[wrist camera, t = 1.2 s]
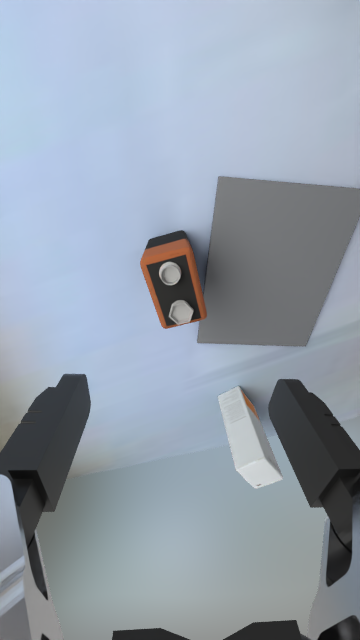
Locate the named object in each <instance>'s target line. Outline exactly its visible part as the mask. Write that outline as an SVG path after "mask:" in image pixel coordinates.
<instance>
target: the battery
mask: <svg viewBox="0 0 360 640" xmlns="http://www.w3.org/2000/svg"><path fill="white" fill-rule="evenodd" d="M140 265H141V269H142V272H143V274H144V277H145V280H146V283H147V286H148V289H149V292H150V294H151V297H152V300H153V303H154V306H155V309H156V311H157V314H158V317H159V320H160V323H161V325H162V327H163V328H165V329H167V328H172V327H176V326H180V325H184V324H188V323H192V322H196V321H200V320H204V319H205V318H206V317H207V311H206V306H205V302H204V297H203V293H202V288H201V284H200V280H199V275H198V271H197V266H196V262H195V257H194V253H193V250H192V248H191V245H190V243H189V240H188V238H187V236H186V233H185V232H184V231H182V230H181V231H177V232H173V233H170V234H166V235H163V236H159V237H156V238H152V239H150V240H149V241H148V244H147V246H146V249H145V251H144V254H143V256H142V258H141V261H140Z"/></svg>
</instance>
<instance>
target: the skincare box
mask: <svg viewBox="0 0 360 640" xmlns="http://www.w3.org/2000/svg"><path fill="white" fill-rule="evenodd" d="M218 400H219V404H220V408H221V412H222V416H223V420H224V424H225V428H226V432H227V436H228V441H229V445H230V448H231V453H232V457H233V461H234V464H235V469H236V471H237V472H239V474H240V475H242V477H243V478H244V479H245V480H246V481H247V482H249V483H250V484H251V485H252V486H253V487H254V488H255V489H256V488H259V487H263V486H265V485H268V484H271V483H274V482H277V481H279V480H282V479H283V476H282V474H281V472H280V469H279V467H278V464H277V462H276V459H275V457H274V454H273V452H272V449H271V447H270V444H269V442H268V439H267V437H266V434H265V432H264V429H263V427H262V425H261V422H260V420H259V417H258V415H257V412H256V410H255V407H254V405H253V404H252V403H251V401H250V400H249V399H248V398H247V396H246V395H245V394H244V392H243V391H242V390H241V388H240V387H239V386H237V387H235V388H233V389H231V390H229V391H227V392H225V393H223V394H221V395H219V396H218Z"/></svg>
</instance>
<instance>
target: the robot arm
mask: <svg viewBox="0 0 360 640" xmlns="http://www.w3.org/2000/svg"><path fill="white" fill-rule="evenodd" d="M90 406H91V401H90V395H89V389H88V383H87V378H86V375H85V374H64V375H63V376H62V378H61V380H60V381H59V383H58V385H57V386H56V387H48V388H47V389H46V390H45V391H44V392H42V393H41V394H40V395H39V396H38V397H36V399H35V400H34V402H33V403H32V405H31V406H30V408H29V409H28V413H26V414H25V416H24V417H23V419H22V420H21V423H20V424H19V425H18V426H17V428H16V429H15V431H14V433H13V434H12V436H11V437H10V439H9V440H8V442H7V443H6V445H5V446H4V448H3V449H2V451H1V453H0V640H64V638H63V634H62V630H61V626H60V623H59V619H58V616H57V613H56V611H55V608H54V605H53V601H52V598H51V593H50V589H49V585H48V580H47V576H46V571H45V567H44V562H43V558H42V553H41V549H40V545H39V540H38V535H37V531H36V527H37V524H38V522H39V519H40V516H41V514H42V512H54V511H55V509H56V506H57V503H58V500H59V497H60V495H61V492H62V489H63V486H64V483H65V481H66V478H67V475H68V472H69V470H70V467H71V464H72V461H73V458H74V456H75V453H76V450H77V447H78V444H79V442H80V439H81V436H82V433H83V431H84V428H85V425H86V422H87V419H88V416H89V413H90ZM268 409H269V416H270V419H271V421H272V423H273V426H274V428H275V430H276V432H277V435H278V437H279V439H280V441H281V443H282V445H283V448H284V450H285V452H286V454H287V457H288V459H289V461H290V463H291V465H292V467H293V470H294V472H295V474H296V476H297V479H298V481H299V483H300V485H301V487H302V490H303V492H304V494H305V496H306V499H307V501H308V503H309V505H310V507H324V509H325V511H326V513H327V515H328V516H327V517H326V519H325V526H324V536H323V547H322V558H321V569H320V580H319V587H318V591H317V594H316V596H315V599H314V601H313V604H312V608H311V612H310V617H309V624H308V633H307V637H306V636H304V635H302V634H300V631H299V628H298V625H297V621H296V620H289V621H272V622H257V623H256V622H255V623H252V624H250V625H248V626H246V627H245V628H243V629H241V630H239V631H238V632H236V633H234V634H232V635H230V636H229V637H227V638H225V639H223V640H360V450H359V449H358V447H357V446H356V445H355V443H354V442H353V441H352V439H351V438H350V437H349V435H348V434H347V433H346V431H345V430H344V429H343V427H341V426H340V423H339V422H338V420H337V419H336V418H335V417H333V414H332V412H331V411H330V410H329V408H328V407H327V406H326V404H325V403H324V402H323V401H322V400H320V399H319V398H318V397H317V396H316V395H314V394H313V393H310V392H308V391H307V389H306V388H305V387H304V385H303V384H302V382H301V381H299V380H296V379H279V380H278V381H277V384H276V386H275V389H274V392H273V394H272V397H271V400H270V402H269V408H268ZM112 640H189V639H187V638H184V637H182V636H179V635H177V634H174V633H171V632H169V631H166V630H164V629H161V628H156V629H155V628H154V629H137V630H122V631H121V630H120V631H113V637H112Z"/></svg>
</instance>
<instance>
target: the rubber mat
mask: <svg viewBox="0 0 360 640" xmlns="http://www.w3.org/2000/svg"><path fill="white" fill-rule="evenodd" d="M359 217H360V189H357V188H346V187H334V186H323V185H311V184H300V183H288V182H277V181H266V180H254V179H243V178H231V177H220V176H219V177H218V184H217V192H216V199H215V207H214V215H213V223H212V230H211V238H210V246H209V253H208V261H207V269H206V276H205V284H204V292H203V297H204V302H205V306H206V311H207V317H206V318H205V319H204V320H200V323H199V330H198V338H197V343H215V344H246V345H276V346H306V344H307V342H308V339H309V337H310V335H311V332H312V330H313V327H314V325H315V323H316V320H317V318H318V315H319V313H320V311H321V308H322V306H323V303H324V301H325V299H326V296H327V294H328V291H329V289H330V287H331V284H332V282H333V279H334V277H335V275H336V272H337V270H338V268H339V265H340V263H341V260H342V258H343V256H344V253H345V251H346V248H347V246H348V244H349V241H350V239H351V236H352V234H353V232H354V229H355V227H356V224H357V222H358V220H359Z"/></svg>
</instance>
